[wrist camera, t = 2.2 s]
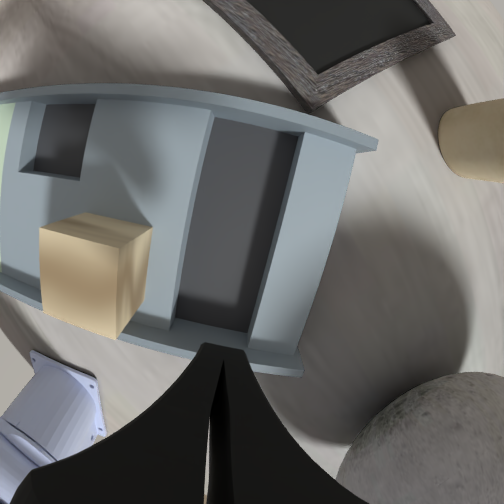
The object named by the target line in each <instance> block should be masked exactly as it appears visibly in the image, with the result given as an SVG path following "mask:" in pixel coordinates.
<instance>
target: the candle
mask: <svg viewBox="0 0 504 504" xmlns="http://www.w3.org/2000/svg"><path fill="white" fill-rule="evenodd" d="M438 139H439V146H440V150H441V153H442V156H443V158H444V160H445V162H446V164H447V165H448V167H449V168H450V169H451V170H452V171H453V172H454V173H455V174H457V175H458V176H461V177H464V178H469V179H476V180H484V181H492V182H499V183H504V99H498V100H492V101H486V102H480V103H475V104H470V105H465V106H460V107H456V108H452V109H450V110H448V111H447V112H445V113H444V115H443V116H442V118H441V120H440V123H439V129H438Z"/></svg>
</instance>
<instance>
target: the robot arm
mask: <svg viewBox="0 0 504 504" xmlns="http://www.w3.org/2000/svg"><path fill="white" fill-rule="evenodd" d="M30 358H31V362H32V365H33V369H34V372H35V375H34V376H33V377H32V379H31V380H30V381H29V382H28V384H27V385H26V386H25V387H24V388H23V389H22V391H21V392H20V393H19V394H18V396H17V397H16V398H15V399H14V401H13V402H12V403H11V405H10V406H9V407H8V408H7V410H6V411H5V412H4V414H3V415H2V416H1V417H0V504H204V484H205V467H206V453H207V441H208V430H209V419H210V434H209V485H208V494H207V504H369V503H368V502H366V501H364V500H362V499H361V498H359V497H358V496H356V495H355V494H353V493H352V492H350V491H349V490H348V489H346V488H345V487H344V486H342V485H341V484H339V483H338V482H337V481H336V480H335V479H333V478H332V477H331V476H330V475H329V474H328V473H327V472H325V471H324V470H323V469H322V468H321V467H320V466H319V465H318V464H317V463H316V462H314V461H313V460H312V459H311V458H310V456H309V455H308V454H307V453H306V452H305V451H304V450H303V449H302V448H301V447H300V446H299V444H298V443H297V442H296V441H295V439H294V438H293V437H292V436H291V435H290V433H289V432H288V431H287V429H286V428H285V427H284V425H283V424H282V422H281V421H280V419H279V418H278V416H277V415H276V413H275V412H274V410H273V409H272V407H271V405H270V404H269V402H268V400H267V398H266V397H265V395H264V393H263V391H262V389H261V387H260V385H259V383H258V381H257V379H256V377H255V375H254V373H253V371H252V368H251V366H250V363H249V361H248V358H247V355H246V353H245V351H244V350H242V349H237V348H231V347H226V346H221V345H216V344H212V343H207V342H204V343H202V344H201V345H200V348H199V350H198V352H197V353H196V355H195V357H194V358H193V360H192V361H191V362H190V364H189V365H188V367H187V368H186V369H185V370H184V371H183V373H182V374H181V375H180V376H179V378H178V379H177V380H176V381H175V382H174V383H173V384H172V385H171V386H170V387H169V388H168V389H167V391H166V392H165V393H164V394H163V395H162V396H161V397H160V398H159V399H158V400H156V401H155V402H154V403H153V404H152V405H151V406H150V407H149V408H147V409H146V410H145V411H144V412H143V413H141V414H140V415H139V416H138V417H136V418H135V419H134V420H132V421H131V422H129V423H128V424H127V425H125V426H124V427H122V428H121V429H120V430H118V431H117V432H115V433H113V434H112V435H110V436H109V437H107V438H105V439H103V440H101V441H100V442H98V443H96V444H94V445H93V443H94V441H95V438H96V436H97V434H98V435H101V436H104V437H105V436H106V435H107V432H106V428H105V423H104V418H103V413H102V408H101V402H100V396H99V389H98V383H97V380H96V379H95V378H94V377H92V376H89V375H87V374H84V373H82V372H79V371H77V370H75V369H72V368H70V367H68V366H65V365H63V364H61V363H59V362H57V361H54V360H52V359H50V358H48V357H46V356H44V355H42V354H40V353H38V352H36V351H34V350H31V351H30Z"/></svg>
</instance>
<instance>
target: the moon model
mask: <svg viewBox="0 0 504 504" xmlns="http://www.w3.org/2000/svg"><path fill="white" fill-rule="evenodd" d="M336 481H337V482H338V483H339V484H341V485H342V486H344V487H345V488H346V489H348V490H349V491H350V492H352V493H353V494H355V495H356V496H358V497H359V498H361V499H362V500H364V501H366V502H368V503H369V504H504V377H501V376H498V375H495V374H489V373H483V372H464V373H457V374H451V375H446V376H443V377H440V378H437V379H434V380H431V381H428V382H426V383H423V384H421V385H419V386H417V387H415V388H413V389H411V390H410V391H408V392H406V393H405V394H403V395H402V396H400V397H399V398H397V399H396V400H394V401H393V402H392V403H390V404H389V405H388V406H386V407H385V408H384V409H383V410H382V411H380V412H379V413H378V414H377V415H376V416H375V417H374V418H373V419H372V420H371V421H370V422H369V423H368V424H367V426H366V427H365V428H364V429H363V430H362V431H361V433H360V434H359V435H358V436H357V438H356V439H355V441H354V442H353V444H352V445H351V447H350V448H349V450H348V452H347V453H346V455H345V458H344V460H343V462H342V464H341V466H340V468H339V471H338V474H337V477H336Z"/></svg>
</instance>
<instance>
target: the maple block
mask: <svg viewBox="0 0 504 504" xmlns="http://www.w3.org/2000/svg"><path fill="white" fill-rule="evenodd" d="M152 231H153V227H150V226H146V225H141V224H137V223H132V222H128V221H123V220H119V219H114V218H109V217H105V216H100V215H96V214H91V213H87V212H85V213H82V214H79V215H75V216H72V217H69V218H66V219H63V220H60V221H57V222H54V223H51V224H48V225H45V226H42V227H39V264H40V284H41V296H42V306H43V313H45V314H48V315H50V316H52V317H55V318H57V319H60V320H62V321H64V322H67V323H70V324H72V325H75V326H77V327H80V328H83V329H85V330H88V331H91V332H94V333H96V334H99V335H102V336H105V337H108V338H111V339H114V340H116V339H117V338H118V336H119V335H120V333H121V332H122V331H123V329H124V328H125V326H126V325H127V323H128V322H129V321H130V319H131V318H132V316H133V315H134V314H135V312H136V311H137V310H138V308H139V307H140V305H141V304H142V303H143V301H144V299H145V288H146V278H147V269H148V260H149V252H150V245H151V238H152Z"/></svg>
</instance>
